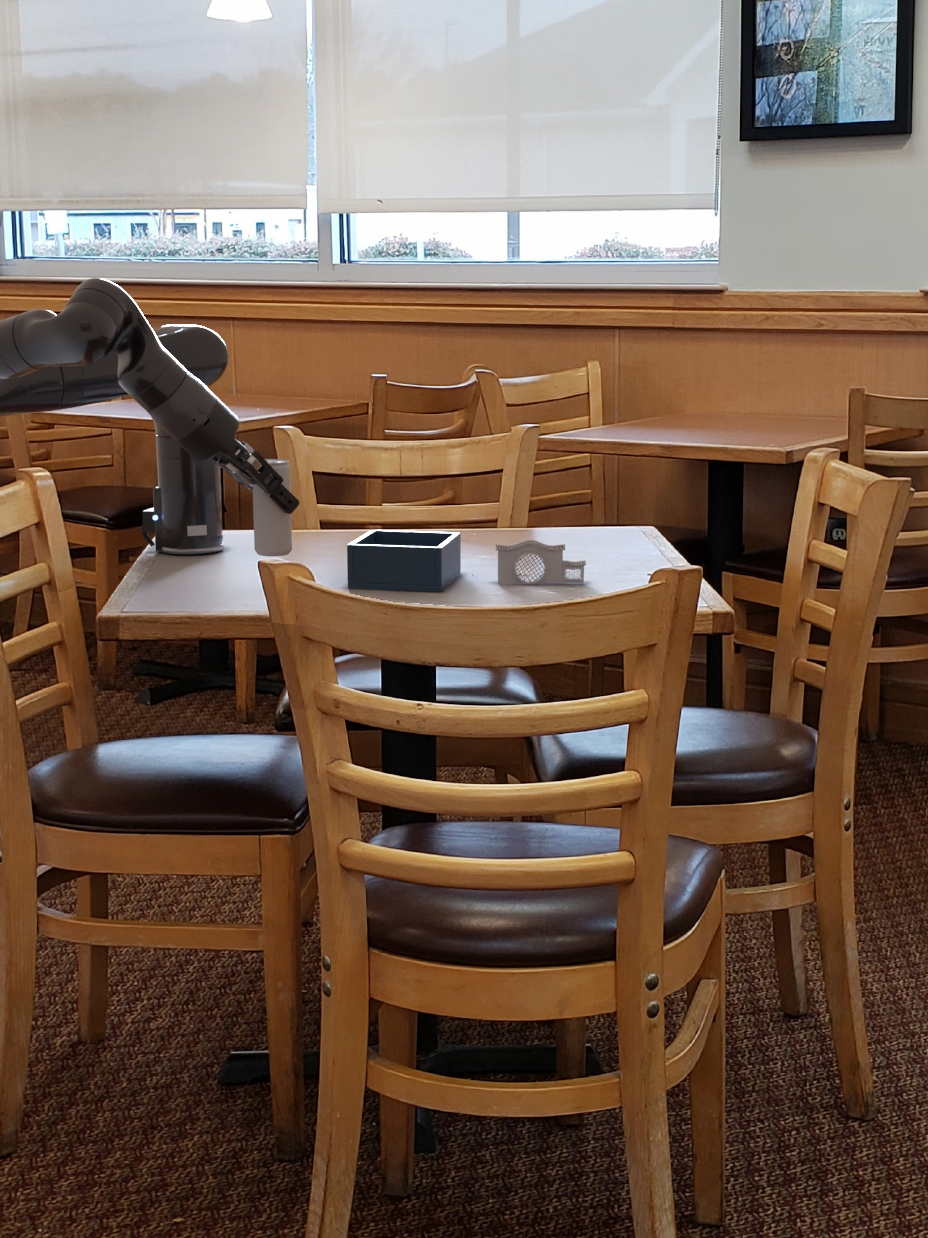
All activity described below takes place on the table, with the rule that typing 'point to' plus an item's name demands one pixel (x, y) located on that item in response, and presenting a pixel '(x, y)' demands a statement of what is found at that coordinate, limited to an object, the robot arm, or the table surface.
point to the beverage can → (272, 517)
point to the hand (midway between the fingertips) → (285, 505)
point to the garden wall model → (547, 553)
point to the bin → (404, 560)
